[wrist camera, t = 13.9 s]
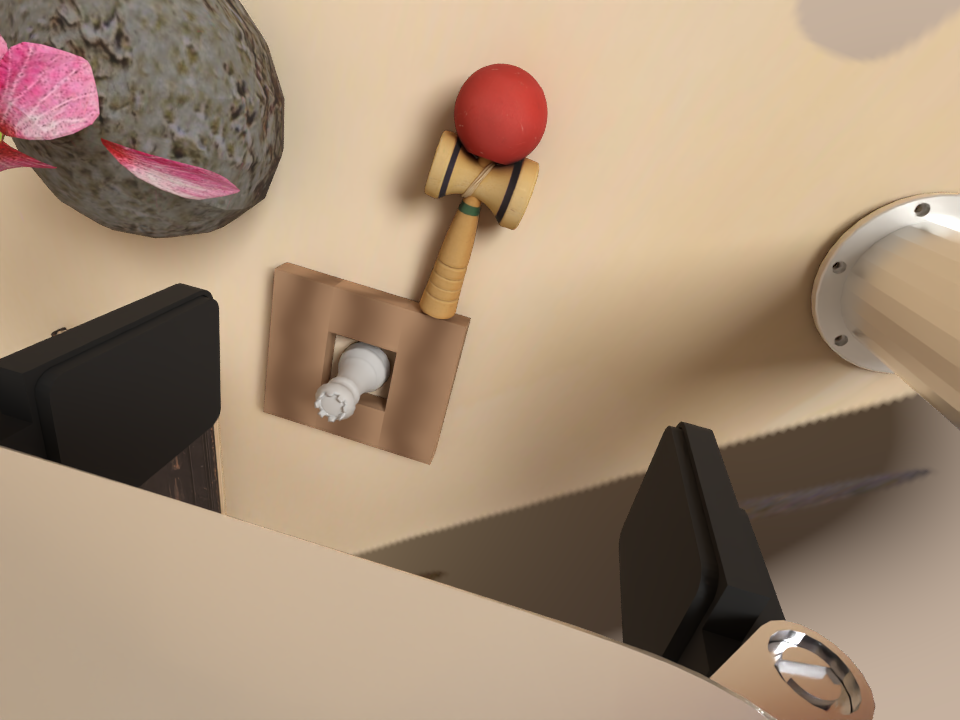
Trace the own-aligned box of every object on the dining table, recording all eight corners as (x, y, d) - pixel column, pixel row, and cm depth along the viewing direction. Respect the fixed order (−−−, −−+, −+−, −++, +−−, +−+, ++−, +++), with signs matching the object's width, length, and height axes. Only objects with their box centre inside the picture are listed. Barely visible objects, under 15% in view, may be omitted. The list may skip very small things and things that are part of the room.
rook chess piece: (348, 332, 47) (305, 373, 40) (396, 349, 47) (362, 392, 40) (340, 376, 49) (298, 422, 42) (387, 391, 49) (353, 440, 42)
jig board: (470, 318, 45) (465, 327, 43) (435, 452, 51) (430, 464, 49) (286, 262, 45) (274, 268, 44) (274, 401, 52) (263, 411, 50)
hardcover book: (221, 359, 51) (206, 370, 49) (234, 538, 62) (222, 553, 60) (67, 325, 53) (46, 334, 51) (105, 506, 63) (89, 519, 61)
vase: (89, -39, 38) (-1062, -360, 12) (325, -36, 36) (-437, -434, 9) (143, 207, 46) (-483, 358, 19) (342, 223, 43) (-52, 422, 16)
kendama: (497, 314, 46) (586, 89, 35) (467, 348, 41) (560, 95, 30) (418, 274, 47) (481, 44, 36) (379, 301, 42) (439, 43, 31)
